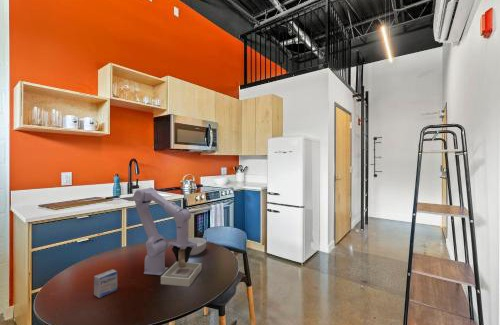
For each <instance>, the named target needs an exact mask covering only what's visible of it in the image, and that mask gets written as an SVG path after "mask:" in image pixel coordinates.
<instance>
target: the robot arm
mask: <svg viewBox="0 0 500 325" xmlns="http://www.w3.org/2000/svg"><path fill="white" fill-rule="evenodd" d="M132 198H133V201H134V203H135V209H136V211H137V213H138V214H137V215H138V217H139V218H140V221H141V224H142V226H143V229H144V232H145V234H146V237H147V241H146V242H145V247H146V255H145V258H144V272H143V274H144V275H152V276H153V275H154V276H155V275H156V276H162V275H163V274H164V273H165V272H166V271H167V270H168V269H169V267H167V266H165V264H166V263H165V262H166V261H165V260H166V254H165V253H166V252H167V251H166V250H168V248H169V247H172V248H171V251H172V252H173V254H174V257H175V262H178V250H180V247H186V249H184V251H185V262H189V259H190V252H191V250H192V248H197V243H192V242H188V238H189V220H190V219H191V215H192V214H191V212H190V210H189V209H187V208H183V207H181V206H179V205H178V204H176V202H175V201H169V200H167V199H166V198H164V197H163V196H162V195H161V194H159V193H158V191H157V190H156V189H154V187H148V188H140V189H136V190H135V191H134V193H133V195H132ZM152 202H154V203H156V204H157V205H159V206H161V207H162V208H164V212H166V213H167V214H168V215H170V216H171V217H173V220H174V222H175V226H176V241H168V242H167V240H166V239H165V237H164V236H163V235H162V234H160V233H159V232H158V231H159V230H158V229H157V226H156V224H155V221H154V219H153V216H152V214H151V211H150V209H149V206H150V204H151V203H152Z"/></svg>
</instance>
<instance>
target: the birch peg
mask: <svg viewBox="0 0 500 325" xmlns="http://www.w3.org/2000/svg"><path fill="white" fill-rule="evenodd" d="M186 266H187V262H185V251H184V249H180V250H178V267H179V268H184V267H186Z"/></svg>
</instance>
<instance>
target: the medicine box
mask: <svg viewBox="0 0 500 325" xmlns="http://www.w3.org/2000/svg"><path fill="white" fill-rule="evenodd" d="M117 290H118V271H117V270H115V269H110V270H107V271H104V272H102V273H99V274H96V275H93V295H94V296H95V297H97V298H99V299H101V298H103V296H104V297H105V295H106V296H108V295H109V294H112V293H114V292H116V291H117Z"/></svg>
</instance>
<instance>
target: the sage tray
mask: <svg viewBox="0 0 500 325" xmlns="http://www.w3.org/2000/svg"><path fill="white" fill-rule="evenodd" d="M201 271H202V262H201V263H200V262H189V261H188V262H187V266H186V267H184V268H179V267H178V262H177V261H175V262H174V263H173V264H172V265H171V266H170V267H168V269H167V270H166V271H165V272H164V273H163V274H162V275H160V285H167V286H176V287H177V286H178V287H188V288H190V287H191V285H192V284H193V282H194V281H195V279H196V278H197V277H198V275H199V274H200V273H201Z"/></svg>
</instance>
